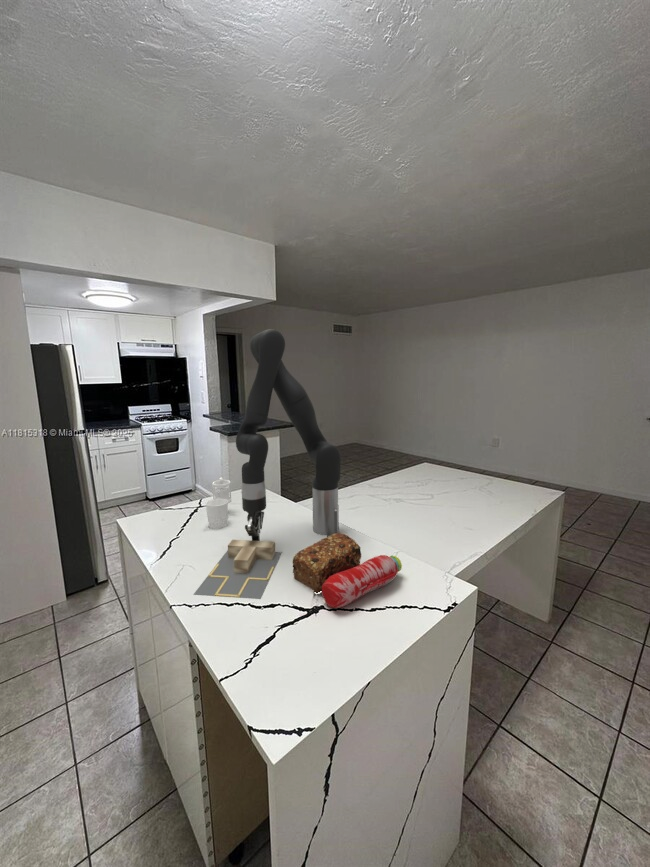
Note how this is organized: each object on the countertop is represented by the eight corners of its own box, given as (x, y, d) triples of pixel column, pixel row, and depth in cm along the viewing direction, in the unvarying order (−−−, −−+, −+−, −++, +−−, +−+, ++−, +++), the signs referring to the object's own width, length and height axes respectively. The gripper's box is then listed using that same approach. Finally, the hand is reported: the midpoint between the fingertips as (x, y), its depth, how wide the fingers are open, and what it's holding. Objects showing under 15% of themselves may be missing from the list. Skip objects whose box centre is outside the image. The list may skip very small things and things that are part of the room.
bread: (336, 557, 113) (336, 527, 111) (362, 570, 105) (363, 538, 103) (291, 581, 100) (290, 548, 98) (317, 598, 92) (316, 562, 91)
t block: (275, 553, 113) (275, 541, 112) (264, 574, 101) (264, 561, 100) (233, 551, 114) (232, 539, 114) (217, 571, 103) (217, 558, 102)
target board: (282, 554, 114) (282, 551, 114) (260, 602, 90) (260, 598, 90) (228, 552, 116) (228, 548, 116) (193, 598, 92) (193, 593, 92)
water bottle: (309, 570, 93) (377, 543, 108) (312, 600, 93) (379, 569, 108) (337, 584, 83) (408, 552, 98) (341, 617, 84) (410, 581, 98)
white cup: (223, 532, 130) (221, 506, 128) (203, 530, 132) (201, 505, 130) (232, 523, 138) (231, 499, 136) (214, 522, 139) (212, 498, 138)
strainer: (231, 510, 151) (229, 476, 149) (232, 516, 145) (230, 481, 142) (214, 512, 149) (212, 478, 146) (214, 518, 142) (212, 483, 140)
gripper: (259, 502, 106) (261, 555, 109) (270, 488, 119) (272, 536, 122) (235, 501, 107) (237, 554, 110) (249, 487, 120) (251, 535, 123)
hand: (256, 544), depth 116 cm, fingers closed
